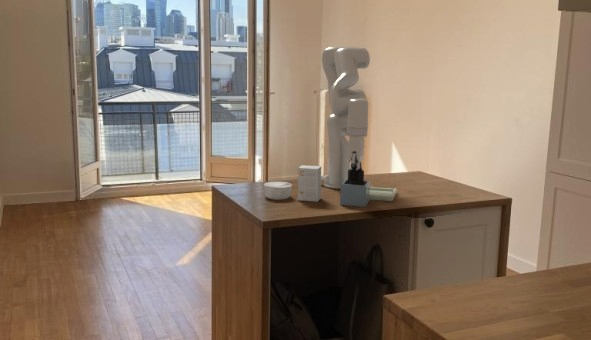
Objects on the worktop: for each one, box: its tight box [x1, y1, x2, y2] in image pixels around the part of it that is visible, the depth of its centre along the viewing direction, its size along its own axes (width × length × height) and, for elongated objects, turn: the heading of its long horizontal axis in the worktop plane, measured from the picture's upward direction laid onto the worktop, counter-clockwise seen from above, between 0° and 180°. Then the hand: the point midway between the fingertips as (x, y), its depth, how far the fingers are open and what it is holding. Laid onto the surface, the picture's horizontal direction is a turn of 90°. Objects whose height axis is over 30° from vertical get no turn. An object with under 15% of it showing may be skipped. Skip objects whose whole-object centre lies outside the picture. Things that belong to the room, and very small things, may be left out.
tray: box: [369, 186, 397, 202], centre depth 243 cm, size 15×15×2 cm
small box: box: [297, 164, 322, 203], centre depth 234 cm, size 8×6×13 cm
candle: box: [348, 159, 365, 185], centre depth 228 cm, size 5×5×25 cm
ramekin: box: [263, 181, 293, 201], centre depth 238 cm, size 11×11×5 cm
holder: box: [339, 179, 371, 208], centre depth 230 cm, size 10×10×8 cm
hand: (355, 178), depth 229 cm, fingers closed on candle, 6 cm apart
